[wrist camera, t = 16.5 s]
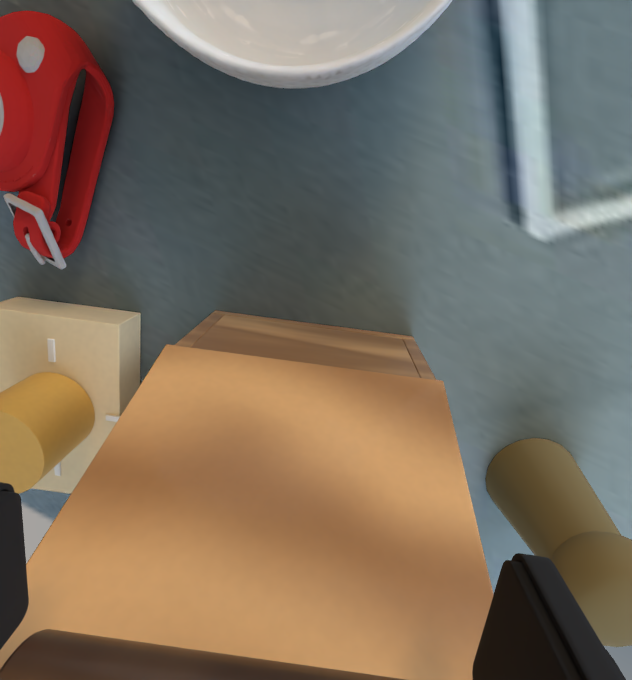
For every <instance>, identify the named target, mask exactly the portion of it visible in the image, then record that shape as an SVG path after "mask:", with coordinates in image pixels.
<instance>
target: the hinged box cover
mask: <svg viewBox="0 0 632 680" xmlns="http://www.w3.org/2000/svg"><path fill="white" fill-rule="evenodd" d="M26 571H27V584H28V596H29V604H28V609H27V612H26V614H25V616H24V618H23V620H22V622H21V623H20V625H19V626H18V627H17V629H16V630H15V631H14V633H13V634H12V635H11V637H10V638H9V639H8V641H7V642H6V643H5V644H4V646H3V647H2V648H1V650H0V680H473V676H472V670H473V662H474V659H475V656H476V652H477V649H478V646H479V642H480V639H481V636H482V632H483V629H484V626H485V622H486V619H487V616H488V612H489V609H490V605H491V602H492V599H493V590H492V586H491V582H490V578H489V573H488V569H487V565H486V561H485V556H484V552H483V548H482V544H481V539H480V535H479V531H478V527H477V522H476V518H475V514H474V510H473V505H472V501H471V497H470V493H469V489H468V484H467V480H466V476H465V472H464V467H463V463H462V459H461V455H460V450H459V446H458V442H457V438H456V433H455V429H454V425H453V421H452V416H451V412H450V408H449V404H448V400H447V395H446V391H445V387H444V383H443V381H440V380H432V379H425V378H417V377H409V376H402V375H394V374H387V373H379V372H372V371H364V370H357V369H349V368H342V367H334V366H327V365H319V364H312V363H304V362H296V361H289V360H281V359H274V358H266V357H259V356H251V355H244V354H236V353H229V352H221V351H214V350H206V349H199V348H191V347H183V346H176V345H168V344H167V345H165V347H164V349H163V350H162V352H161V353H160V355H159V356H158V358H157V360H156V361H155V363H154V364H153V366H152V367H151V369H150V371H149V372H148V374H147V375H146V377H145V378H144V380H143V382H142V383H141V385H140V386H139V388H138V389H137V391H136V393H135V394H134V396H133V397H132V399H131V400H130V402H129V404H128V405H127V407H126V408H125V410H124V411H123V413H122V415H121V416H120V418H119V419H118V421H117V422H116V424H115V426H114V427H113V429H112V430H111V432H110V433H109V435H108V437H107V438H106V440H105V441H104V443H103V444H102V446H101V448H100V449H99V451H98V452H97V454H96V455H95V457H94V459H93V460H92V462H91V463H90V465H89V466H88V468H87V470H86V471H85V473H84V474H83V476H82V477H81V479H80V481H79V482H78V484H77V485H76V487H75V488H74V490H73V492H72V493H71V495H70V496H69V498H68V499H67V501H66V503H65V504H64V506H63V507H62V509H61V510H60V512H59V514H58V515H57V517H56V518H55V520H54V521H53V523H52V525H51V526H50V528H49V529H48V531H47V532H46V534H45V536H44V537H43V539H42V540H41V542H40V543H39V545H38V547H37V548H36V550H35V551H34V553H33V554H32V556H31V558H30V559H29V561H28V563H27V564H26Z"/></svg>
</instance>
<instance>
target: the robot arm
mask: <svg viewBox="0 0 632 680" xmlns="http://www.w3.org/2000/svg"><path fill="white" fill-rule="evenodd" d="M28 604H29V596H28V584H27V571H26V558H25V546H24V533H23V520H22V507H21V498H20V495H19V494H18V493H15V492H14V488H13V486H12V485H11V484H8V483H2V482H0V650H1V648H2V647H3V646H4V644H5V643H6V642H7V641H8V639H9V638H10V637H11V635H12V634H13V633H14V631H15V630H16V629H17V627H18V626H19V625H20V623H21V622H22V620H23V618H24V616H25V614H26V612H27V609H28ZM472 676H473V680H626V679H625V677H624V676H623V674H622V672H621V671H620V669H619V667H618V666H617V664H616V663H615V661H614V659H613V658H612V657H611V655H610V654H609V653H608V651H607V650H606V649H605V648H604V646H603V645H602V643H601V641H600V640H599V638H598V636H597V635H596V633H595V631H594V630H593V628H592V626H591V625H590V623H589V621H588V620H587V618H586V616H585V615H584V613H583V611H582V610H581V608H580V606H579V605H578V603H577V601H576V600H575V598H574V596H573V595H572V593H571V591H570V590H569V588H568V586H567V585H566V583H565V581H564V580H563V578H562V576H561V575H560V573H559V571H558V570H557V568H556V566H555V565H554V563H553V562H552V561H551V559H549V558H547V557H541V556H534V555H526V554H515V555H514V556H513V558H512V560H511V561H510V560H506V561H505V562H504V563H503V566H502V569H501V572H500V575H499V579H498V582H497V585H496V589H495V592H494V595H493V599H492V602H491V605H490V609H489V612H488V616H487V619H486V622H485V626H484V629H483V632H482V636H481V639H480V642H479V646H478V649H477V652H476V656H475V659H474V662H473V670H472Z"/></svg>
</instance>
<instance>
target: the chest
mask: <svg viewBox="0 0 632 680" xmlns="http://www.w3.org/2000/svg"><path fill="white" fill-rule="evenodd" d="M175 345H176V346H183V347H191V348H199V349H206V350H214V351H221V352H229V353H236V354H244V355H251V356H259V357H266V358H274V359H281V360H289V361H296V362H304V363H312V364H319V365H327V366H334V367H342V368H349V369H357V370H364V371H372V372H379V373H387V374H394V375H402V376H409V377H417V378H425V379H432V380H436V378H435V376H434V375H433V373H432V371H431V369H430V367H429V366H428V364H427V362H426V360H425V358H424V356H423V355H422V353H421V351H420V349H419V347H418V345H417V344H416V342H415V340H414V338H413V337H412V336H406V335H398V334H391V333H383V332H375V331H368V330H360V329H353V328H345V327H337V326H330V325H322V324H315V323H307V322H299V321H292V320H284V319H277V318H269V317H261V316H254V315H246V314H239V313H231V312H223V311H216V310H215V311H214V312H212V314H210V315H209V316H208V317H207V318H205V319H204V320H203V321H202V322H201V323H200V324H198V325H197V326H196V327H195V328H194V329H193V330H191V331H190V332H189V333H188V334H187V335H186V336H184V337H183V338H182V339H181V340H180V341H178V342H177V343H176V344H175Z"/></svg>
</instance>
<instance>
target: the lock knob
mask: <svg viewBox="0 0 632 680" xmlns="http://www.w3.org/2000/svg"><path fill="white" fill-rule="evenodd" d="M94 421H95V413H94V407H93V404H92V401H91V399H90V398H89V396H88V394H87V393H86V392H85V390H84V389H83V388H82V387H81V386H80V385H79V384H78V383H76V382H75V381H73V380H72V379H70V378H68V377H66V376H64V375H61V374H57V373H51V372H42V373H37V374H34V375H31V376H29V377H28V378H26V379H24V380H22V381H20V382H19V383H17V384H15V385H13V386H11V387H10V388H8V389H6V390H4V391H2V392H1V393H0V482H2V483H8V484H11V485H12V486H13V488H14V492H15V493H18V494H19V493H22V492H25V491H27V490H29V489H30V488H32V487H33V486H34V485H35V484H36V483H38V482H39V481H40V480H41V479H42V478H43V477H44V476H45V475H46V474H47V473H48V472H49V471H51V470H52V469H53V468H54V467H55V466H56V465H57V464H58V463H59V462H60V461H61V460H63V459H64V458H65V457H66V456H67V455H68V454H69V453H70V452H71V451H72V450H73V449H74V448H76V447H77V446H78V445H79V444H80V443H81V442H82V441H83V440H84V439H85V438H86V437H87V436H88V435H89V434H90V432H91V430H92V428H93V425H94Z"/></svg>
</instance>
